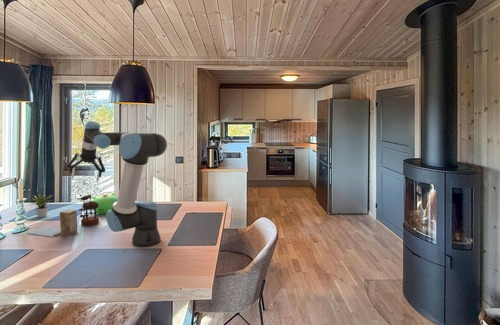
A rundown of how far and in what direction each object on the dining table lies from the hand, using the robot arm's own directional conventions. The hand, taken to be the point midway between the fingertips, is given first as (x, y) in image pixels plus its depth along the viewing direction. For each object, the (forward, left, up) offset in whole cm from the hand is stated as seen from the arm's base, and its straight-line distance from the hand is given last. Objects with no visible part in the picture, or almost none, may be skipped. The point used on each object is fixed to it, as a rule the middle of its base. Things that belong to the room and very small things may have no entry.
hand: (85, 179), depth 186 cm
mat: (+18, +9, -32) cm, 37 cm away
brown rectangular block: (+5, +9, -32) cm, 33 cm away
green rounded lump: (+15, -34, -32) cm, 49 cm away
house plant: (+49, -13, -32) cm, 60 cm away
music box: (+7, -11, -32) cm, 35 cm away
